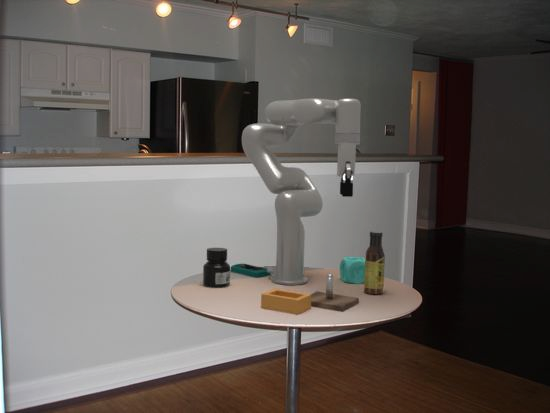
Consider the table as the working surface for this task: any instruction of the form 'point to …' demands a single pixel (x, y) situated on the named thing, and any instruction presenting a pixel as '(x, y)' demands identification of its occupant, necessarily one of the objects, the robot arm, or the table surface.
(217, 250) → the ink bottle
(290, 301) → the link
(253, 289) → the table surface
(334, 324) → the table surface
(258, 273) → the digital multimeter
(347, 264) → the decorative dice
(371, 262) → the sauce bottle
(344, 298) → the plate
